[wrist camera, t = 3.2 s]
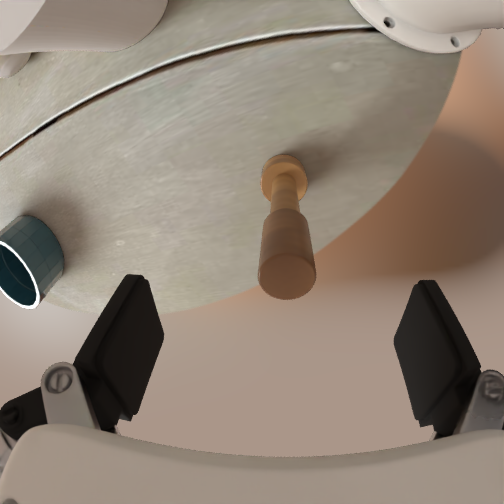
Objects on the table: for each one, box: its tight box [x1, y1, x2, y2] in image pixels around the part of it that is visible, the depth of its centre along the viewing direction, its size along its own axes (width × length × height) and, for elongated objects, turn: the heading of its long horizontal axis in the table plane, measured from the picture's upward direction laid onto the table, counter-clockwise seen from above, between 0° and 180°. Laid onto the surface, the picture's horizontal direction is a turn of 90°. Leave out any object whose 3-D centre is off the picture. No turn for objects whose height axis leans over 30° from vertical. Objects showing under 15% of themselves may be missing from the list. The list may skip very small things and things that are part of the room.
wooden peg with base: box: [258, 155, 316, 300], centre depth 16 cm, size 3×3×12 cm
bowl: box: [0, 216, 64, 309], centre depth 25 cm, size 9×9×6 cm
